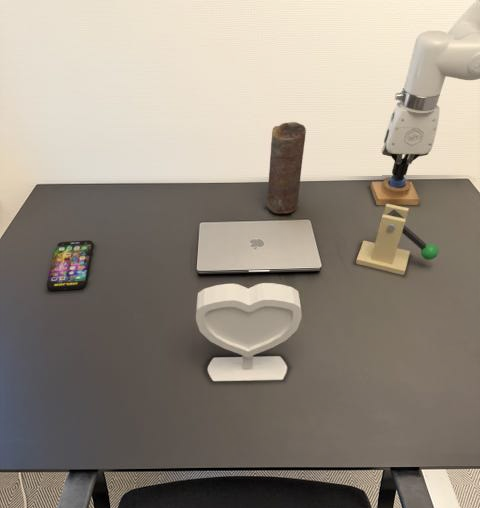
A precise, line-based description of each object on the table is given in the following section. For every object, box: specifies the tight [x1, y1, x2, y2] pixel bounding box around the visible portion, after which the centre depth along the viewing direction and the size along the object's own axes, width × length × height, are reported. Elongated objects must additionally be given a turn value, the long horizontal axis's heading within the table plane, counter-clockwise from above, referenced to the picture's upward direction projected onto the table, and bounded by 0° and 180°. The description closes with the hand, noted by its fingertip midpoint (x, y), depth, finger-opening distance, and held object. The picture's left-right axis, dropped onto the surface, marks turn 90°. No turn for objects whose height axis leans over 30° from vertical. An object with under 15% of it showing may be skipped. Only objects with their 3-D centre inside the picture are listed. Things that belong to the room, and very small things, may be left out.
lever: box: [387, 209, 439, 261], centre depth 94 cm, size 13×3×3 cm
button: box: [389, 174, 407, 188], centre depth 114 cm, size 4×4×2 cm
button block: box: [370, 176, 420, 206], centre depth 116 cm, size 10×8×4 cm
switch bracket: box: [355, 204, 411, 276], centre depth 96 cm, size 10×7×12 cm
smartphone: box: [46, 240, 94, 292], centre depth 98 cm, size 8×1×15 cm
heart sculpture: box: [195, 282, 303, 382], centre depth 73 cm, size 16×5×18 cm, turn 91°
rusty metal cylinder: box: [266, 121, 307, 215], centre depth 106 cm, size 8×7×20 cm
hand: (397, 177), depth 113 cm, fingers closed
